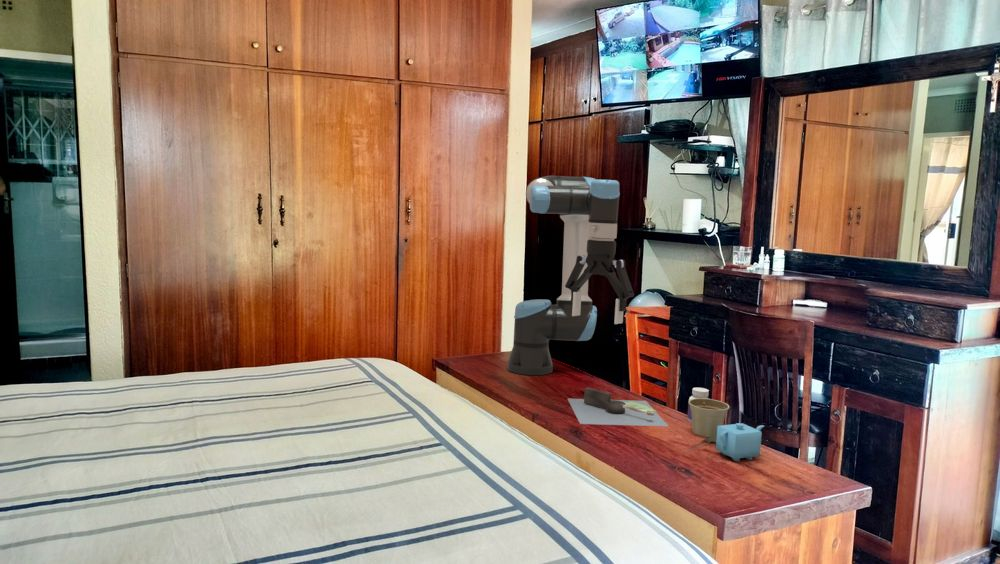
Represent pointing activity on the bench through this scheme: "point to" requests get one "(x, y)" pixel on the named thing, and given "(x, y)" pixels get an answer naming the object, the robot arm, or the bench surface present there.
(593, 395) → the dark long piece
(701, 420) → the flower pot
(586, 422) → the tuner board
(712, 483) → the bench surface
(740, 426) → the teapot
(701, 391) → the pill bottle
